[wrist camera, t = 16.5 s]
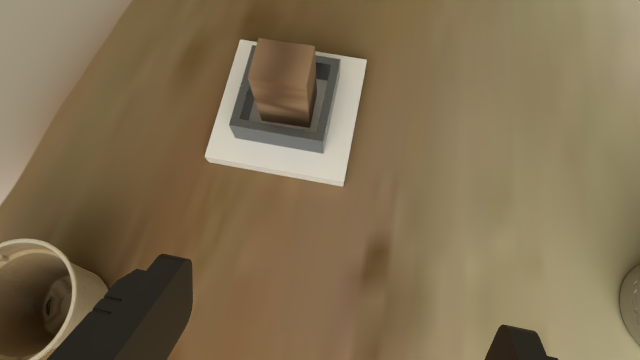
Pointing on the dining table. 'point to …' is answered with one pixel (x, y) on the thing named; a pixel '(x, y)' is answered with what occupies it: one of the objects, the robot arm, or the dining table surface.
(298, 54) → the walnut block
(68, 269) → the flower pot
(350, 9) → the dining table surface
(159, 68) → the dining table surface
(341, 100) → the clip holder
